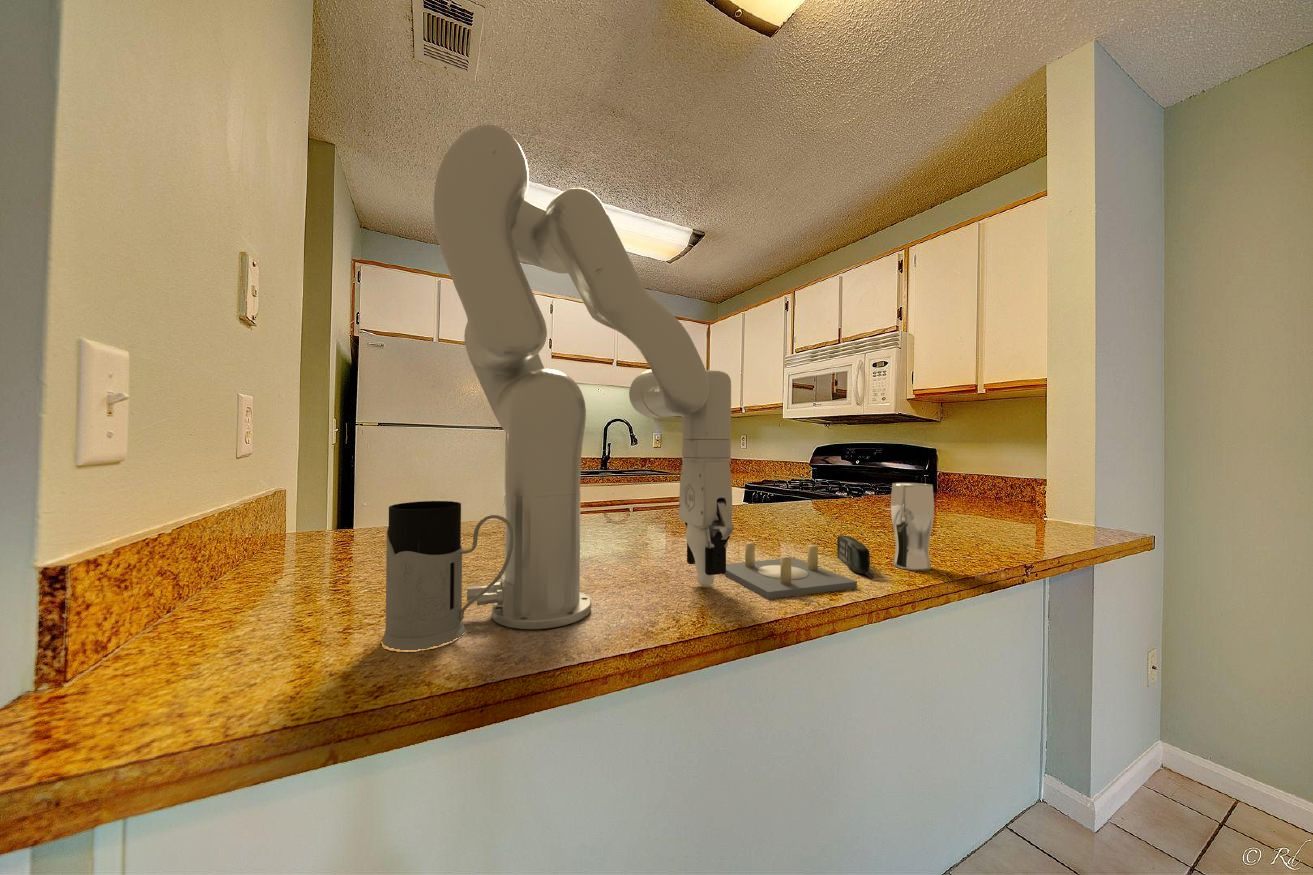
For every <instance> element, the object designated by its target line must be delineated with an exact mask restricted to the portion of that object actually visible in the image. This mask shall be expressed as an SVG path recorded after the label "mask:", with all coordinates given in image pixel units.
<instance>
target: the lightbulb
mask: <svg viewBox="0 0 1313 875" xmlns="http://www.w3.org/2000/svg"><path fill="white" fill-rule="evenodd" d="M717 525H719V522H714V523H712V525H711V526H717ZM686 530H687V532H686V531H685V539H686V544H687V543H688V545H689V547H690V549H691V551H692V553H693V556H694V559H695V564H694V566H695V570H696V578H697V583H698V585H701V587H703V588H709V587H710V586H712V585H713V584H714V582H715V575H707V574H706V573H705V547H708V544H707V537H706V530H705V528H704V529H701V528H698V527H695V526H693V525H691V524H689V526H688V528H687V527H686ZM712 532H713V537H714V536H715V534H716V532H719V531H712Z"/></svg>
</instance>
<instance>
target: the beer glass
mask: <svg viewBox="0 0 1313 875" xmlns="http://www.w3.org/2000/svg"><path fill="white" fill-rule="evenodd" d="M891 484H892V485H891V493H890V495H891V496H890V516H891V522H892V529H893V533H894V540H895V551H894V556H893V563H892V564H893V566H894V567H896V568H898V569H902V570H906V571H913V572H915V571H916V572H928V571H931V569H932V564H931V559H930V553H929V552H930V551H929V550H930V549H929V547H930V539H931V533H932V529H933V526H934V525H933V524H934V518H935V500H934V486H933V485H934V484H930V483H921V482H920V483H919V482H893V483H891Z"/></svg>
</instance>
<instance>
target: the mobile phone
mask: <svg viewBox="0 0 1313 875" xmlns="http://www.w3.org/2000/svg"><path fill="white" fill-rule="evenodd" d="M836 543H837V544H836V555H837V559H839V560H840V561H841V562H842V563H843V564H844V565H845V566H847V568H848V569H849V570H850V571H851V572H853V573H856V574H863V575H865V576H867V577H869V579H871V580H872V579H874V576H875V575H874V574H872V573H871V571H870V569H871V554H870V550H869V549H868V547H866V546H865V545H864V544H863V543H862V542H860V541H858V540H857V539H856V538H854V537H852V536H848V535H838V536H837V540H836Z"/></svg>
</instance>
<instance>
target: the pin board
mask: <svg viewBox="0 0 1313 875" xmlns="http://www.w3.org/2000/svg"><path fill="white" fill-rule="evenodd" d="M744 543H745V546H744V547H745V554H744V556H745V557H744V558H745V560H744V561H743V562H732V563H726V573H724V574H723V576H726V577H727V578H729V579H731V580H733V581H735V582H736V583H738V584H740V585H742V586H744V587H745V588H747V589H749V590H750V591H752V592H753V593H754V592H755V593H756V594H758V595H760V596H761V597H764V598H765V599H767V600H770V599H771V600H772V599H779V598H781V599H782V598H787V597H795V596H804V595H811V594H820V593H828V592H837V591H844V590H851V589H852V590H853V589H854V590H855V589H857V588H858V581H856V580H854V579H851V578H848V577H846V576H843V575H840V574H837V573H834V572H833V571H830V570H827V569H826V568H825V569H824V568H822V567H820V566H819V565H818V564H819V561H818V560H819V559H818V558H819V549H818V548H819V546H818V545H816V544H808V545H807V562H806V561H803V560H801V559H798V558H795V557H792V556H790V555H781V556H780V558H777V559H767V560H756V555H755V554H756V553H755V552H756V543H755V542H752V541H751V542H750V541H747V542H744Z"/></svg>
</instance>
